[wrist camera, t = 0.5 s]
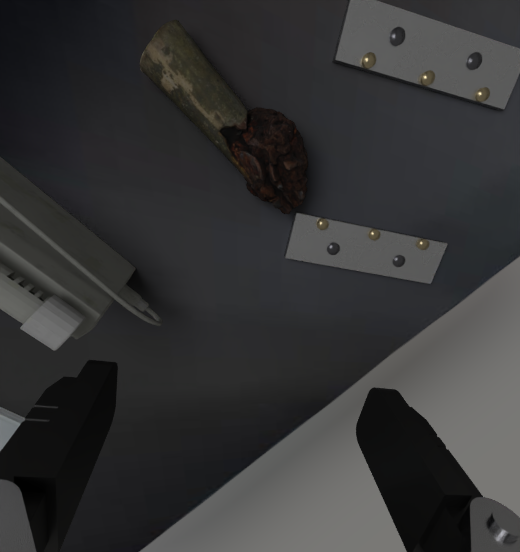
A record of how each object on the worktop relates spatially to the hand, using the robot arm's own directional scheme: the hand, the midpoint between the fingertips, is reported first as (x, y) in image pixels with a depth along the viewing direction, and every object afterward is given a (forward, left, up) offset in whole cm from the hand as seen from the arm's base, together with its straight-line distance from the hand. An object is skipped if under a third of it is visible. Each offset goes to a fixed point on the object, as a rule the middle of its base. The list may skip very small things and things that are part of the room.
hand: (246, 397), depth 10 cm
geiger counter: (+3, -16, -26) cm, 31 cm away
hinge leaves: (-10, +15, -26) cm, 32 cm away
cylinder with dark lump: (-9, -1, -27) cm, 28 cm away
